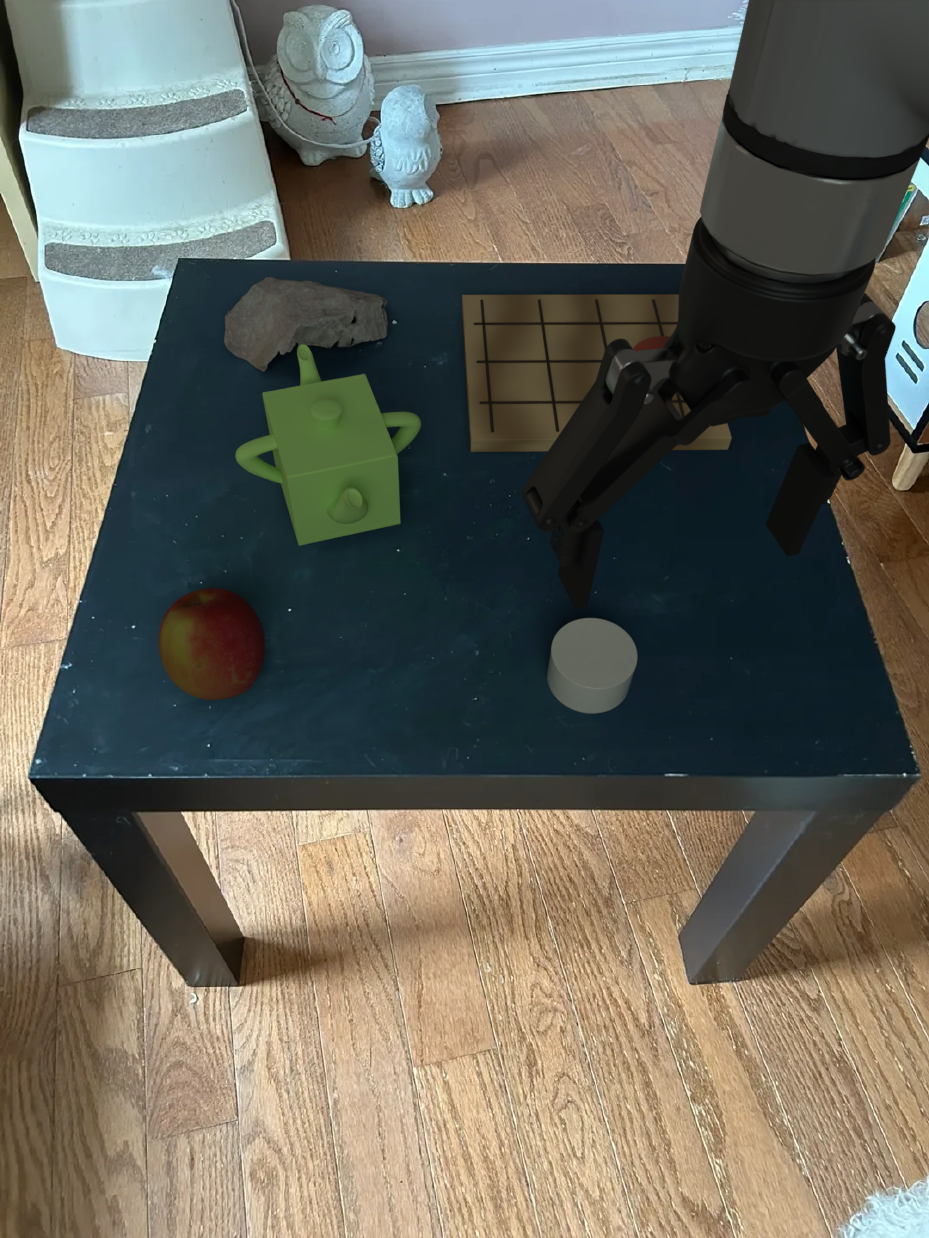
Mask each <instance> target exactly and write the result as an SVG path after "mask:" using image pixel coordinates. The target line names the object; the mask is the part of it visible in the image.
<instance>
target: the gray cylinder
mask: <svg viewBox="0 0 929 1238" xmlns="http://www.w3.org/2000/svg"><path fill="white" fill-rule="evenodd" d="M632 638H633V637H631V636H630V634H629V633H628V632H627V631H626V630H625V629H623V628H622V627H621V626H620V625H618V624H616V623H614V622H612V621H609V620H607V619H602V618H598V617H583V618H578V619H575V620H572V621H570V622H568V623H566V624H564V626H562V627H561V628H560V629H559V630H558V631H557V632H556V634H555V635H554V637H553V640H552V642H551V646H550V653H549V659H548V665H547V671H546V681H547V684H548V687H549V689H550V691H551V693H552V694H553V696H554V698H556V699H557V701H558V702H559V703H561V704H562V705H563V706H565V707H566V708H569V709H570V710H573V711H576V712H578V713H582V714H593V715H594V714H603V713H606V712H609V711H612V710H614V709H615V708H616V707H619V705H620V704H621V703H623V701H624V700H625V699H626V697H627V695H628V693H629V691H630V688H631V685H632V682H633V678H634V675H635V671H636V668H637V664H638V658H639V656H638V650H637V647H636V644H635V642H634V639H632Z"/></svg>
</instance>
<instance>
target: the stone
mask: <svg viewBox="0 0 929 1238" xmlns="http://www.w3.org/2000/svg"><path fill="white" fill-rule="evenodd" d="M387 304H388V300H387V299H386V298H385V297H383V296H382V297H381V296H380V295H379V294H374V293H367V292H365V291H360V290H354V289H353V290H351V289H348V288H343V287H339V286H329V285H325V284H322V283H320V282H317V281H311V280H310V279H309V280H302V281H299V280H292V279H278V278H276V277H273V276H270V277H264V278H263V279H262V280H261V281H259V282H257V283H254V284H253V285H251V287H250V288H249V290H248V291H247V292H246V293H245V295H242V297H241V298H240V299H239V300H238V302H237V303H236V304H235V305H234V306H233V308H232V309H231V310H227V312H226V314H224V327H225V331H224V337H223V343H224V345H225V347H226V349H227V350H228V351H229V352H230V353H232V354H233V355H234V356H235V357H237V358H239V359H242V360H245V361H247V362H248V363H249V364H250V365H251V366H253V367H254V368H256V369H257V370H259V371H261V372H262V373H264V372H266V371H267V370H268V368H269V367H268V365H269V364H270V362H272V360H273V359H274V358H275V357H276V356H277V354H278V353H279V354H280V355H282V356H283V355H285V354H286V353H290V352H292V350H293V348H294V347H295V346H296V344H297V347H299V346H300V345H306V346H314V347H315V346H316V347H321V348H326V349H331V348H332V347H333V346H334V345H335V344H336V343H337V344H336V346H337V348H346V347H347V348H351V347H354V346H355V345H358V344H361V343H362V342H363V343H365V342H367V343H369V342H374V341H378V340H382V339H385V338H386V337H387V336H388V327H389V326H388V325H389V324H388V316H387V312H386V305H387ZM382 306H383V307H382ZM354 318H355V320H356V321H355V322H354V323H353V320H354ZM352 339H353V340H352Z"/></svg>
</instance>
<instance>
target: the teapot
mask: <svg viewBox="0 0 929 1238" xmlns="http://www.w3.org/2000/svg"><path fill="white" fill-rule="evenodd" d="M296 355H297V361H298V365H299V374H300V378H299V379H300V380H299V381H300V382H299V383H300V384H299V385H296V386H291V387H285V388H280V389H275V390H270V391H263V392H262V400H263V406H264V411H265V416H266V423H267V427H268V433H269V434H268V435H264V436H260V437H257V438H254V439H252V440H249V441H246V442H245V443H243V444H242V445H240V446H239V447H238V448H237V449H236V451H235V460H236V462H237V463H238V465H239V466H240V467H241V468H242V469H244V470H245V471H247V472H248V473H250V474H251V475H254V476H257V477H259V478H262V479H265V480H268V481H270V482H273V483H278V484H280V485H281V490H282V491H283V496H284V500H285V503H286V507H287V510H288V513H289V518H290V521H291V524H292V528H293V531H294V535H295V538H296V541H297V545H298V546H305V545H309V544H313V543H318V542H323V541H327V540H332V539H336V538H341V537H342V538H343V537H346V536H350V535H351V536H352V535H355V534H359V533H360V534H361V533H364V532H368V531H373V530H377V529H382V528H387V527H392V526H397V525H401V503H400V502H401V501H400V477H399V456H398V455H399V453H401V452H402V451H403V450H404V449H405V448H406V447H408V446H409V445H410V444H411V443H412V441H413V440H414V439H415V438H416V437H417V435H418V433H419V432H420V430H421V428H422V421H421V418H420V417H419V416H418V415H417V414H416V413H413V412H410V411H390V412H381V410H380V407H379V405H378V403H377V400H376V398H375V395H374V392H373V389H372V388H371V385H370V382H369V379H368V377H367V375H366V373H361V374H357V375H356V374H355V375H351V376H346V377H340V378H335V379H328V380H323V381H322V378H321V376H320V374H319V371H318V369H317V365H316V362H315V358H314V354H313V353H312V351H311V349H310V348H309V345H300V346H297V349H296ZM395 427H396V428H397V427H398V428H399V429H398V430H397V432H396V433H395V434H394V435H393V437H392V438H391V436H390V433H389V431H388V428H395ZM271 451H272V455H273V461H274V464H275V466H273V465H271V464H269V463H267V462H265V460H263V459H262V458H260V457H259V456H260V455H263V454H265V453H268V452H271Z"/></svg>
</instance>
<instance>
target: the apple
mask: <svg viewBox="0 0 929 1238" xmlns="http://www.w3.org/2000/svg"><path fill="white" fill-rule="evenodd" d="M159 625H160V626H159V630H158V652H159V658H160V661H161V664H162V666H163V669H164V671H165V672H166V674H167V676H168V677H169V679H170V680H171V681H172V683H173V684H175V685H176V686H177V687H178V688H179V689H180V690H181V691H183V692H184V693H185V694H187V695H190V696H192V697H195V698H198V699H200V700H205V701H219V700H227V699H231V698H234V697H237V696H241V695H243V694H244V693H246V692H248V690H250V689H251V687H252V686H253V685H254V684H255V683H256V681H257V679H258V677H259V676H260V673H261V671H262V669H263V666H264V665H263V664H264V661H265V656H266V638H265V633H264V628H263V625H262V622H261V620H260V618H259V616H258V614H257V613H256V610H255V609H254V608H253V606H252V605H251V604H250V603H249V602H248V600H246V599H245V598H244V597H243V596H241V595H240V594H238V593H236V592H234V591H231V590H228V589H225V588H214V587H207V588H200V589H197V590H193V591H190V592H189V593H187V594H185V595H182V596H181V597H179V598H178V599H177V600H175V602H173V603H172V604H171V605H170V606H169V608H168V609H167V610H166V612H165V613H164V615H163V616H162V619H161V622H160V624H159Z"/></svg>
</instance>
